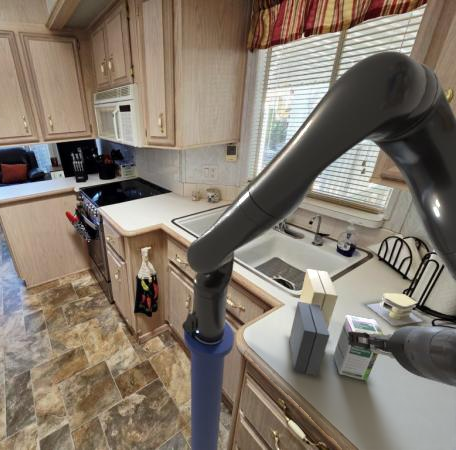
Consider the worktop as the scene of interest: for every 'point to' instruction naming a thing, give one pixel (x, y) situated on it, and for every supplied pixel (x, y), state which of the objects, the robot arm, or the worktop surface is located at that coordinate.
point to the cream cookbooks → (319, 292)
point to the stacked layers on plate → (396, 309)
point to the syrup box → (355, 348)
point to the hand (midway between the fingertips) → (380, 345)
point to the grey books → (308, 338)
